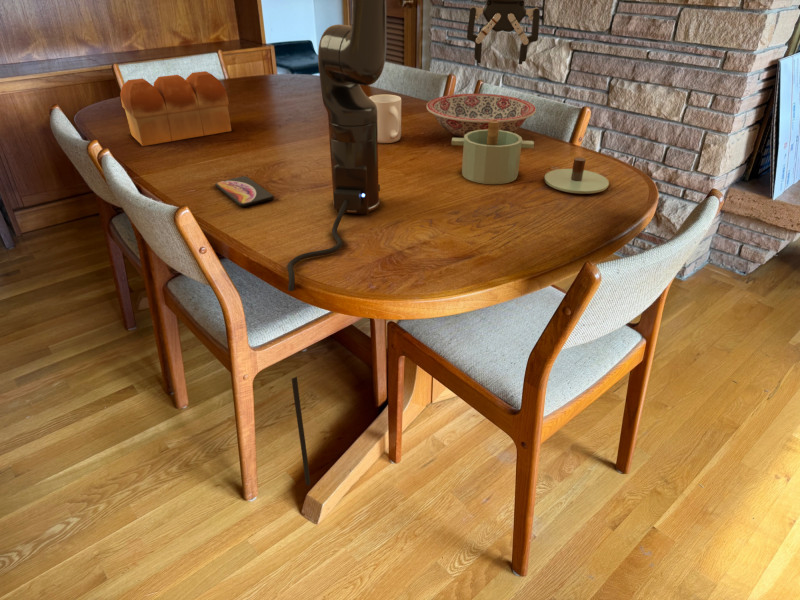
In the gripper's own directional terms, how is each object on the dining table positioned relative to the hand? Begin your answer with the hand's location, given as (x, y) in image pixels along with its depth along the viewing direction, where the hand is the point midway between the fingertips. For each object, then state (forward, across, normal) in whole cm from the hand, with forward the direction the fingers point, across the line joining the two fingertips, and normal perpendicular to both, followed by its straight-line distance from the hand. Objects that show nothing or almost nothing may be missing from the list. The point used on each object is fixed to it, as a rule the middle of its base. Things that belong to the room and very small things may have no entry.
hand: (499, 63), depth 118 cm
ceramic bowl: (+24, -3, +30) cm, 39 cm away
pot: (+24, 0, 0) cm, 24 cm away
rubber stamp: (+24, 0, 0) cm, 24 cm away
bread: (+24, -85, +21) cm, 91 cm away
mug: (+24, -27, +22) cm, 42 cm away
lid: (+24, +19, -4) cm, 30 cm away
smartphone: (+24, -52, -19) cm, 60 cm away
